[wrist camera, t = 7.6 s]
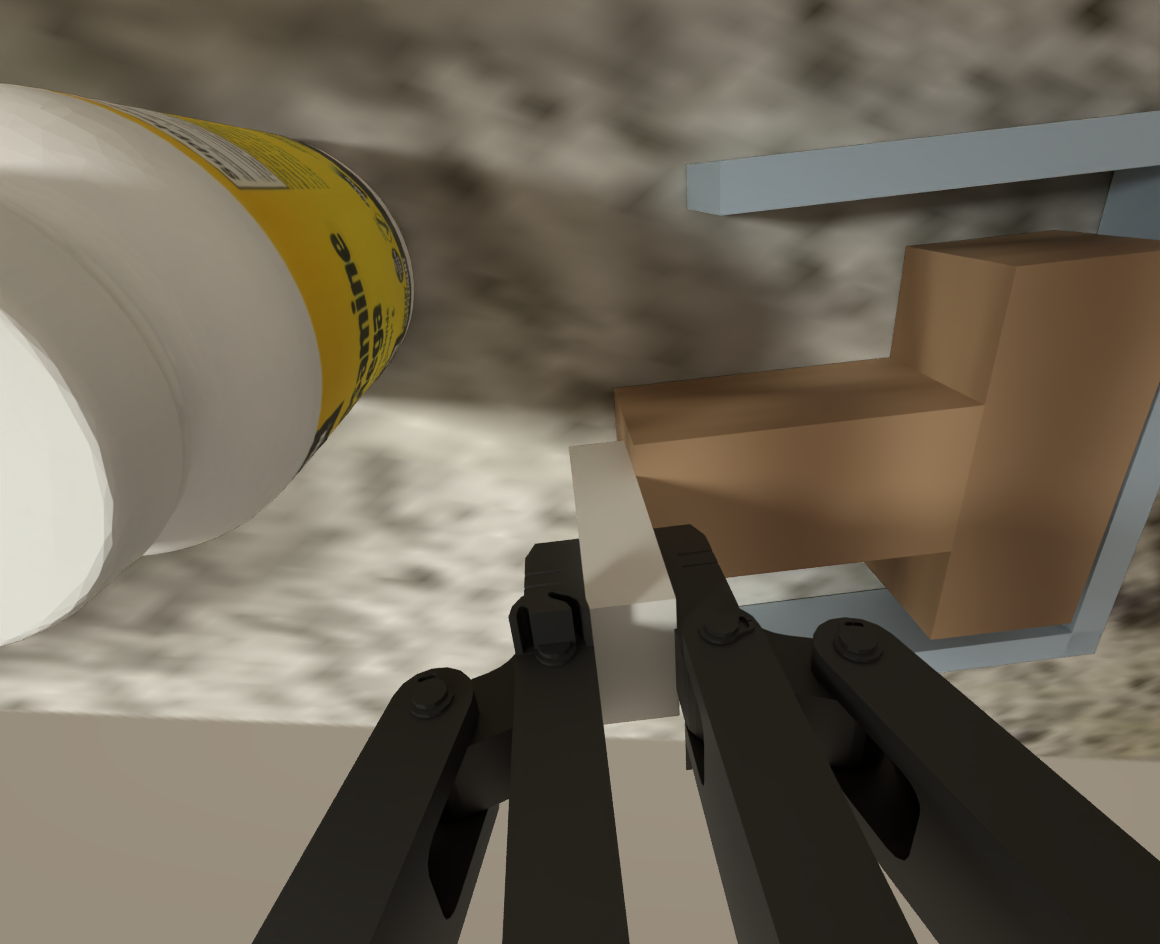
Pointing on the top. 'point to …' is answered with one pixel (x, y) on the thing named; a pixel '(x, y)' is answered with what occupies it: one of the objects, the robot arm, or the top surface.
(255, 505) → the pill bottle
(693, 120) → the top surface
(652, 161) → the top surface
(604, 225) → the top surface
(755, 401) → the t block
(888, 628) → the dock
